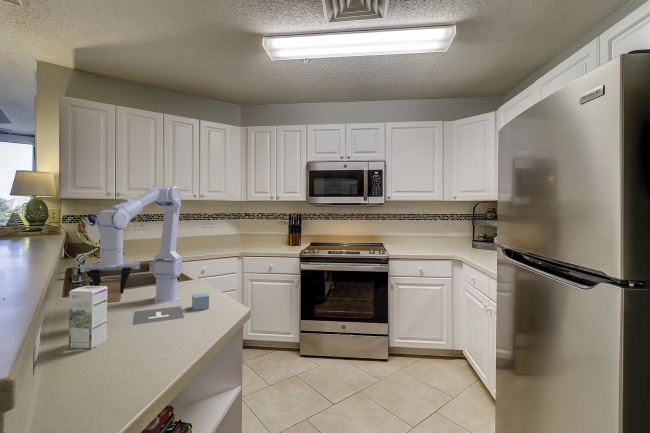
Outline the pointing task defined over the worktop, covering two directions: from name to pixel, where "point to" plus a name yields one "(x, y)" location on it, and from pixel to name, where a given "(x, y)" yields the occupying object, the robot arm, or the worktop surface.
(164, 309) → the letter mat
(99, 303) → the syrup box
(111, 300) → the walnut block
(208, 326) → the worktop surface
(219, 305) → the worktop surface
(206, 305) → the blue cube
